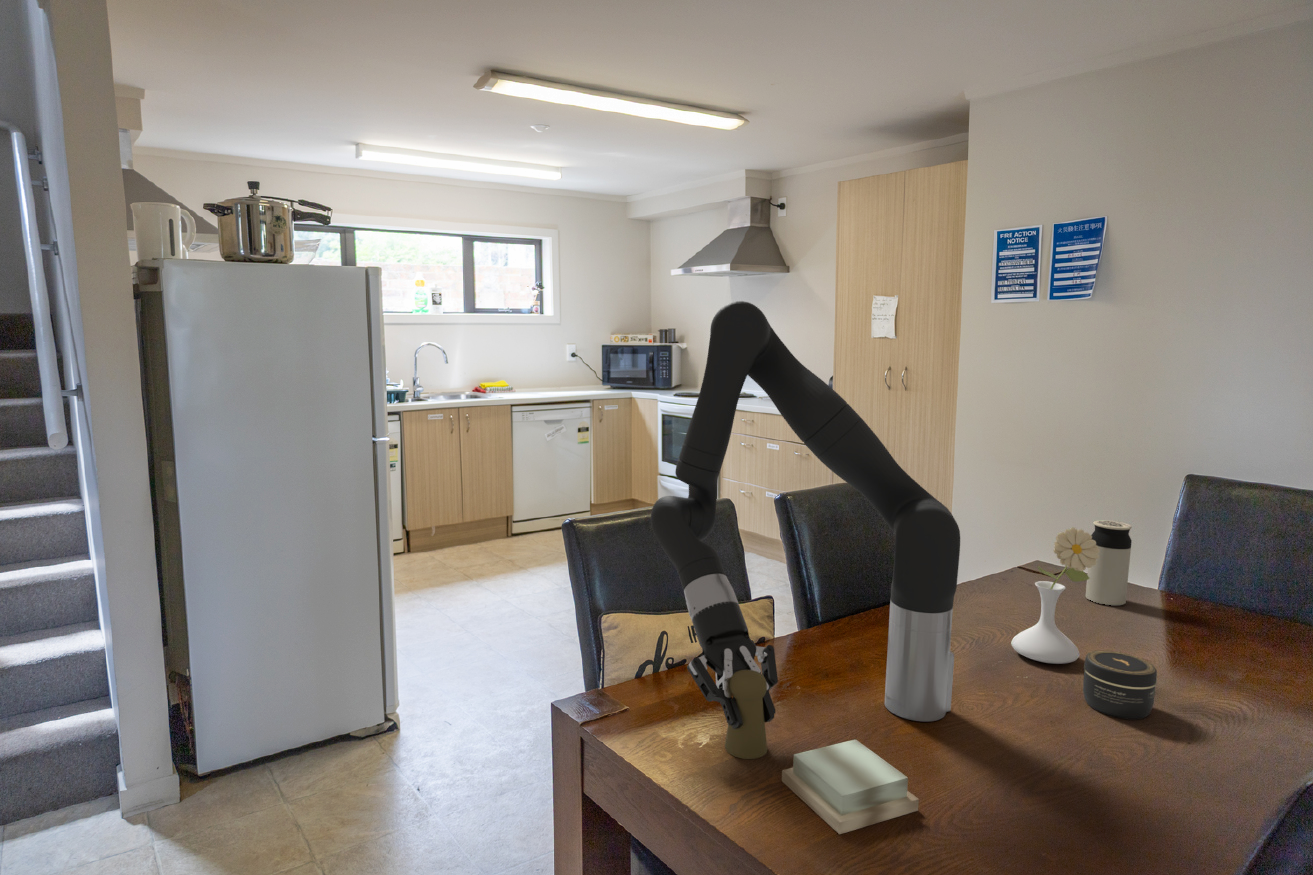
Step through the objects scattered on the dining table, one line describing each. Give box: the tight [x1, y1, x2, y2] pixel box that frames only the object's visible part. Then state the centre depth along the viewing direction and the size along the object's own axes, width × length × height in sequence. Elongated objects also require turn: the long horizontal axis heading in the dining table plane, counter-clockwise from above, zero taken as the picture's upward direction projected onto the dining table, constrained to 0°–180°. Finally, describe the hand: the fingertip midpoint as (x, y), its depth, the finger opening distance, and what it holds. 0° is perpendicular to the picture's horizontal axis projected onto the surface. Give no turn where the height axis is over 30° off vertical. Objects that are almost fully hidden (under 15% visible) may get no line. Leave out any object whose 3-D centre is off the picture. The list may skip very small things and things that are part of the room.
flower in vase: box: [1010, 527, 1100, 665], centre depth 142 cm, size 13×11×25 cm
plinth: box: [781, 738, 920, 835], centre depth 98 cm, size 12×12×4 cm
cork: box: [724, 670, 768, 760], centre depth 108 cm, size 6×6×11 cm
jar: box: [1082, 650, 1158, 720], centre depth 123 cm, size 10×10×8 cm
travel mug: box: [1085, 520, 1133, 607], centre depth 175 cm, size 8×8×18 cm
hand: (754, 722), depth 107 cm, fingers closed on cork, 4 cm apart
